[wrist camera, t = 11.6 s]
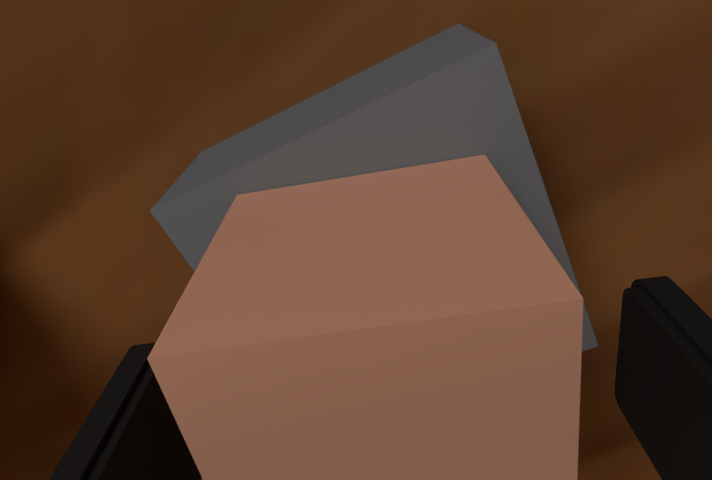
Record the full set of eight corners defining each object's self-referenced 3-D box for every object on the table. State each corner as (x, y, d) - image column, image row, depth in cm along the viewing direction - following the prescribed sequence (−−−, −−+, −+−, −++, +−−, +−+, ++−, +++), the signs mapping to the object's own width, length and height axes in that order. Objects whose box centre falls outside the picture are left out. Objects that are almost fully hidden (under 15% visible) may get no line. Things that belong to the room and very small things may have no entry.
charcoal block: (456, 22, 15) (496, 42, 11) (543, 259, 19) (598, 345, 15) (203, 149, 17) (149, 210, 13) (327, 342, 21) (318, 442, 17)
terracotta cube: (484, 154, 12) (583, 298, 7) (497, 353, 15) (574, 567, 9) (236, 195, 13) (147, 358, 7) (292, 380, 15) (257, 597, 10)
